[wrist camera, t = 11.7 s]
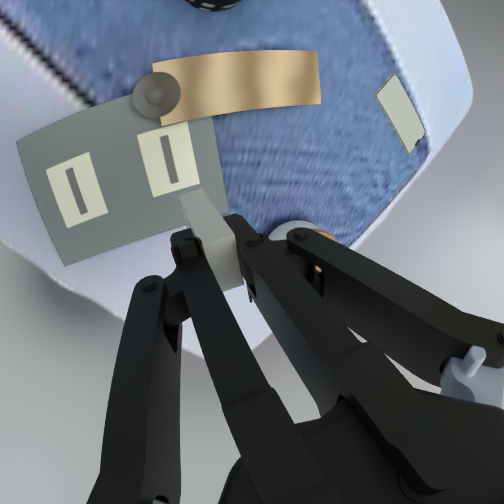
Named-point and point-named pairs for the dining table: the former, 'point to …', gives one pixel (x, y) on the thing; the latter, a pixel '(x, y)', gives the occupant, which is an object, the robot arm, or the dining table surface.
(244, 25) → the dining table surface
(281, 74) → the swing arm
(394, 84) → the smartphone
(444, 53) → the dining table surface
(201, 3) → the spotted tube
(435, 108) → the dining table surface
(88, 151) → the label panel
